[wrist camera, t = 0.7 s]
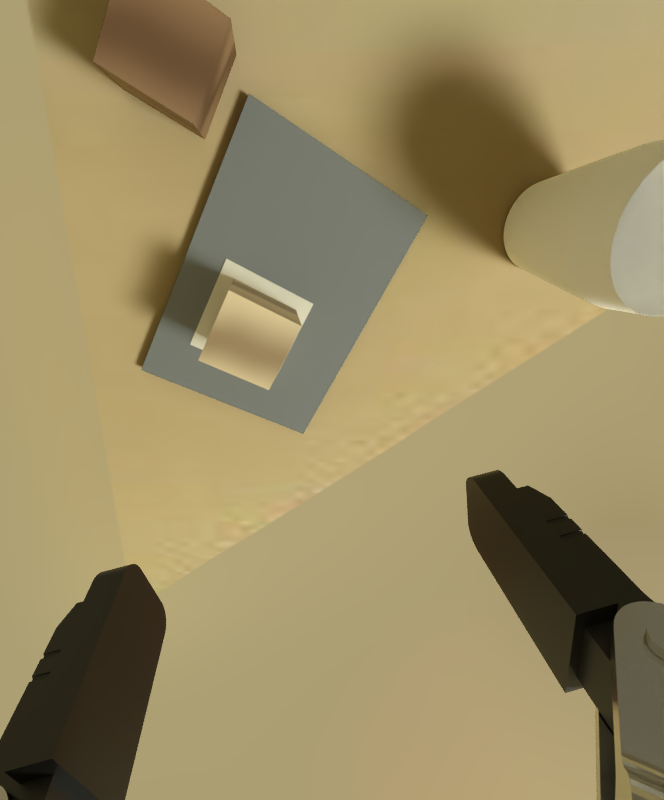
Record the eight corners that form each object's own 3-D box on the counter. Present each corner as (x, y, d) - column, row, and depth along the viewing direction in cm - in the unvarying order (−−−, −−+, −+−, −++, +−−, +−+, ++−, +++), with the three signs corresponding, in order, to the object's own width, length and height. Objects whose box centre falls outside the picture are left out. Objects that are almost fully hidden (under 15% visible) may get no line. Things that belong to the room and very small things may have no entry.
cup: (468, 264, 31) (574, 290, 21) (525, 139, 28) (686, 93, 18) (555, 300, 34) (690, 339, 23) (616, 189, 31) (806, 175, 20)
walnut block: (152, -5, 22) (125, -59, 18) (236, 55, 24) (230, 18, 19) (124, 90, 24) (92, 61, 19) (205, 139, 25) (192, 123, 21)
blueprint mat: (249, 96, 25) (248, 93, 24) (424, 215, 29) (428, 215, 29) (143, 367, 31) (140, 370, 30) (302, 430, 35) (303, 434, 35)
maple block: (234, 278, 28) (228, 290, 24) (296, 309, 30) (301, 326, 26) (207, 338, 30) (198, 360, 26) (267, 365, 32) (268, 390, 27)
